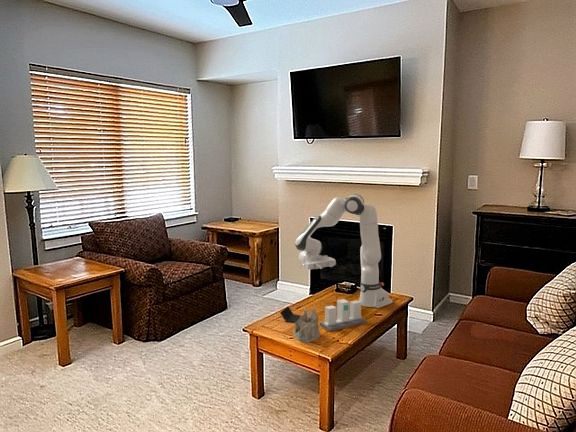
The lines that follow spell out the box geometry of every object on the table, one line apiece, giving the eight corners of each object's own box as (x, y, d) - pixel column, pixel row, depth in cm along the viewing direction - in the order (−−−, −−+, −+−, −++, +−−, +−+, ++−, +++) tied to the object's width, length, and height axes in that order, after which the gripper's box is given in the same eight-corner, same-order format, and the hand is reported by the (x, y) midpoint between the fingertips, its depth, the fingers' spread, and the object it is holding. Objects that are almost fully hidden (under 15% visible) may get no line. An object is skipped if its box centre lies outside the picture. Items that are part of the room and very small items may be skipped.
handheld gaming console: (298, 320, 247) (288, 306, 248) (288, 327, 248) (278, 313, 250) (302, 316, 258) (293, 302, 259) (293, 322, 259) (284, 308, 261)
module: (343, 317, 249) (343, 299, 247) (349, 320, 244) (349, 301, 242) (337, 318, 247) (337, 300, 245) (342, 322, 242) (342, 303, 240)
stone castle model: (302, 326, 243) (301, 301, 239) (326, 335, 232) (325, 309, 229) (284, 337, 231) (283, 311, 228) (308, 347, 221) (308, 320, 217)
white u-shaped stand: (355, 316, 256) (355, 298, 254) (366, 322, 247) (366, 303, 245) (319, 325, 244) (319, 305, 243) (329, 331, 236) (329, 311, 234)
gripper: (300, 258, 270) (312, 263, 258) (328, 254, 280) (340, 259, 268) (301, 268, 271) (312, 274, 259) (328, 264, 281) (340, 269, 269)
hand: (327, 266), depth 264 cm, fingers open, 6 cm apart
